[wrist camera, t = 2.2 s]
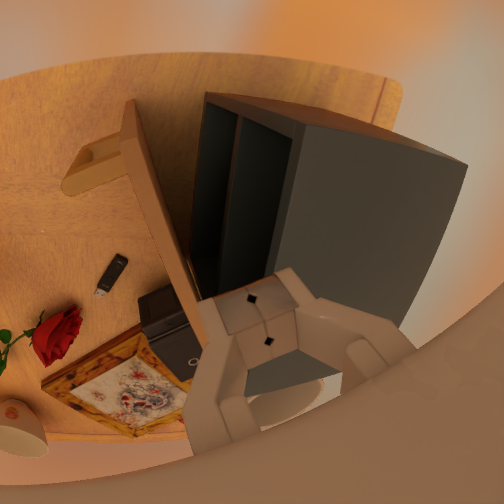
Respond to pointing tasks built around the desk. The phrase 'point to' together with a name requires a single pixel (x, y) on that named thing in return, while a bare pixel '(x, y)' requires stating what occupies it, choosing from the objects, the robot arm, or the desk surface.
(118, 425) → the picture frame
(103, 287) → the usb flash drive
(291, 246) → the cupboard
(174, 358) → the camera
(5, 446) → the bowl
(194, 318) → the door
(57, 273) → the desk surface
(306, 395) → the planter
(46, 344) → the flower
